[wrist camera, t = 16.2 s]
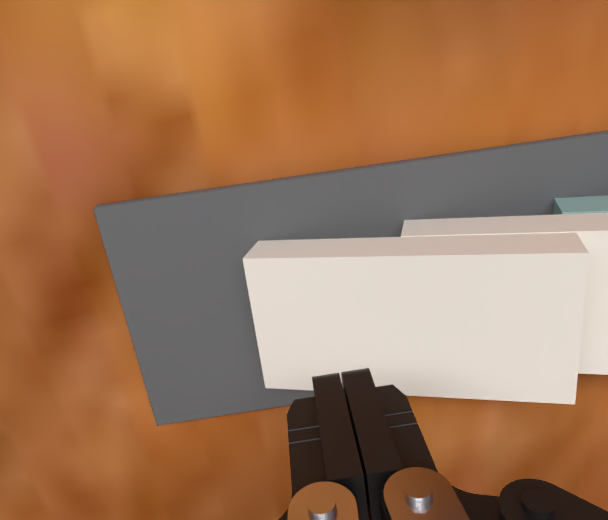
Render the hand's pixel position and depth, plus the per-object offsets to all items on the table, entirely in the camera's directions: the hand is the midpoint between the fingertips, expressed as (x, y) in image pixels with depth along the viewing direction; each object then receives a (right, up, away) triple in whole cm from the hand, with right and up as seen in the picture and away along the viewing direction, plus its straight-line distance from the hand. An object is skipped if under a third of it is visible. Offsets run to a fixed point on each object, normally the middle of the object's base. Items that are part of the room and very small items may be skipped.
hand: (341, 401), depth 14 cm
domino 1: (-2, +2, +5) cm, 6 cm away
